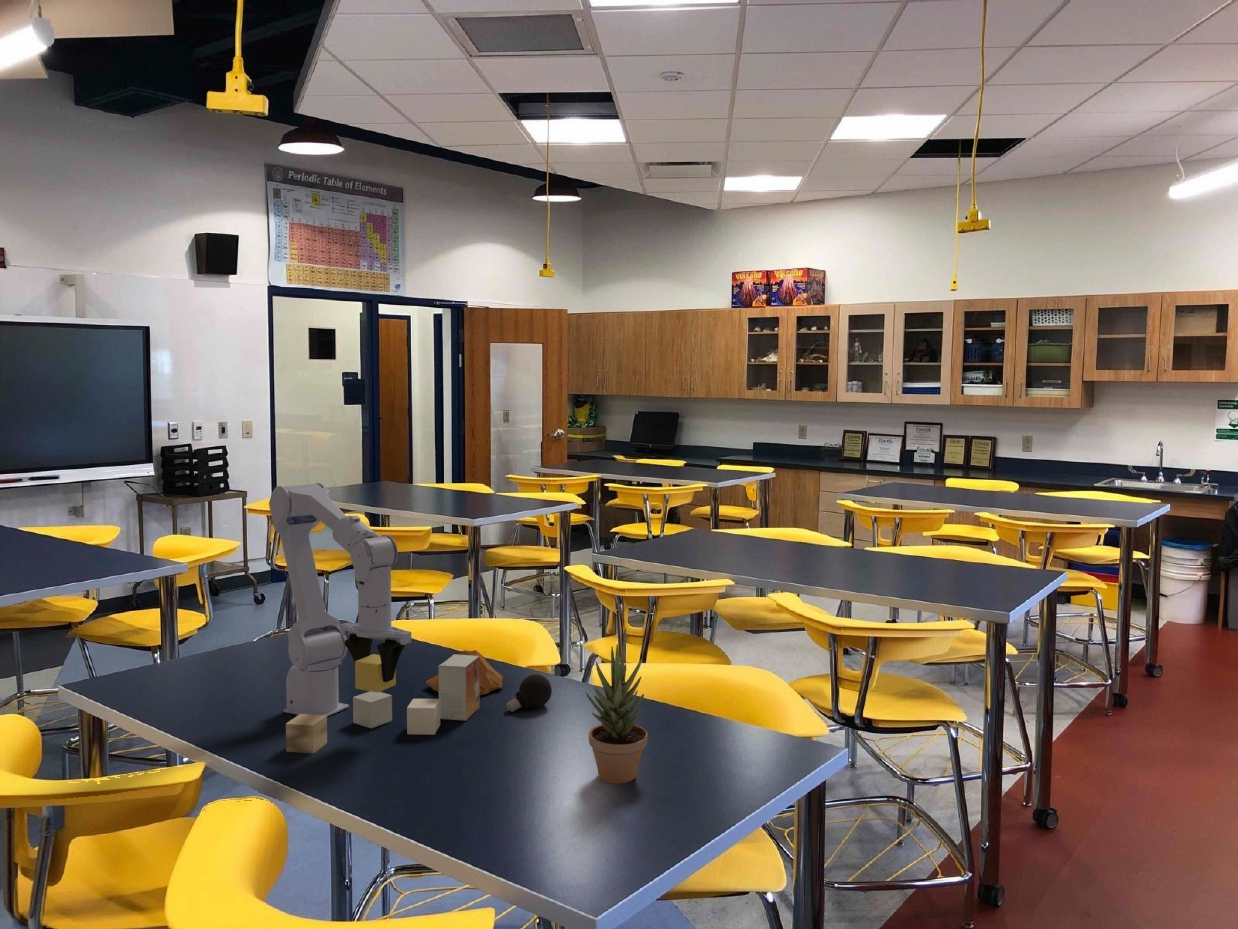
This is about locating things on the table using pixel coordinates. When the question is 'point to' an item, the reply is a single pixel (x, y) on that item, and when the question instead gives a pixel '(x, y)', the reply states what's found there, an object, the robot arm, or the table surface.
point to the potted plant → (617, 724)
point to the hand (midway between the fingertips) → (375, 678)
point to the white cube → (423, 716)
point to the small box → (459, 687)
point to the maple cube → (306, 733)
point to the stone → (487, 676)
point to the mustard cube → (371, 674)
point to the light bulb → (531, 693)
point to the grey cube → (372, 709)
